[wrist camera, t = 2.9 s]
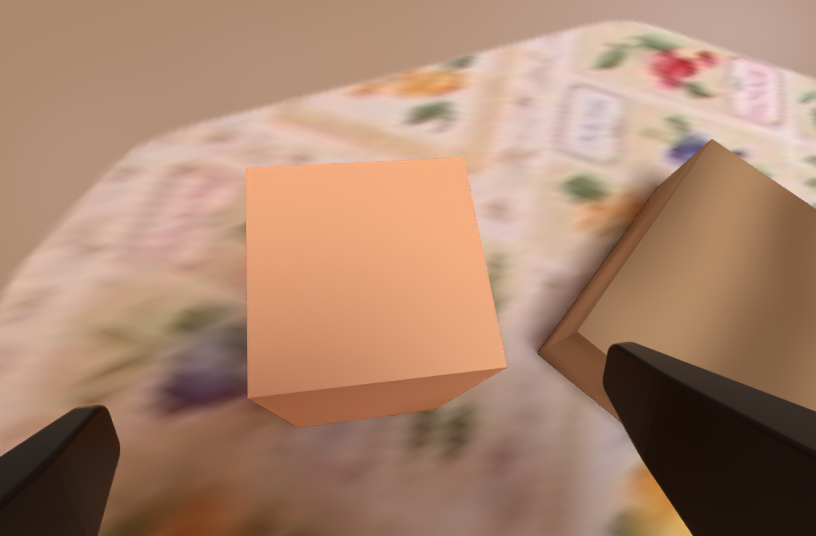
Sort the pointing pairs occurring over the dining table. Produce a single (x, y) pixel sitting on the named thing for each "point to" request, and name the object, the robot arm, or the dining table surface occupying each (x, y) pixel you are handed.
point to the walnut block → (705, 284)
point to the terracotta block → (365, 290)
